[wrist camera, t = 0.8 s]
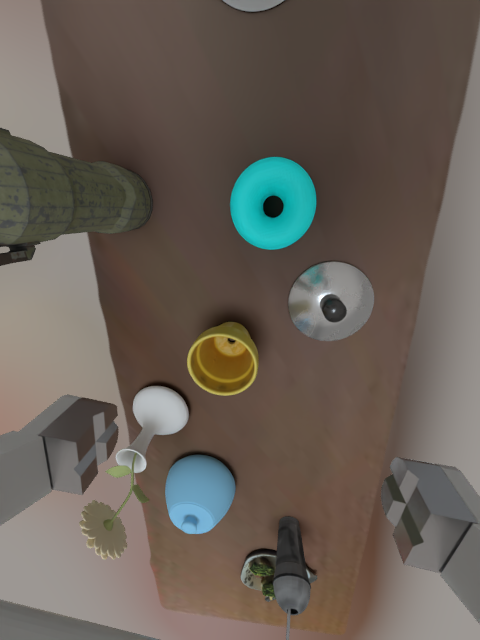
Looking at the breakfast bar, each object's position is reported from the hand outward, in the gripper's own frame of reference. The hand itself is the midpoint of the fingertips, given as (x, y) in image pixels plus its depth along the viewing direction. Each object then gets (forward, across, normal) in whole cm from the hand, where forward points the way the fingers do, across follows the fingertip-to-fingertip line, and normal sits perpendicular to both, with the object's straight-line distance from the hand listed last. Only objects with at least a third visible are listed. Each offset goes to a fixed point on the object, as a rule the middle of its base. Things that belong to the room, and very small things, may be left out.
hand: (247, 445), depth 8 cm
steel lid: (+38, -10, +5) cm, 40 cm away
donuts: (+38, +1, -8) cm, 38 cm away
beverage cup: (+39, -14, +59) cm, 72 cm away
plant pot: (+38, +5, +14) cm, 41 cm away
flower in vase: (+38, +17, +32) cm, 53 cm away
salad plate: (+40, -14, +78) cm, 89 cm away
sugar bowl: (+39, +7, +49) cm, 63 cm away
